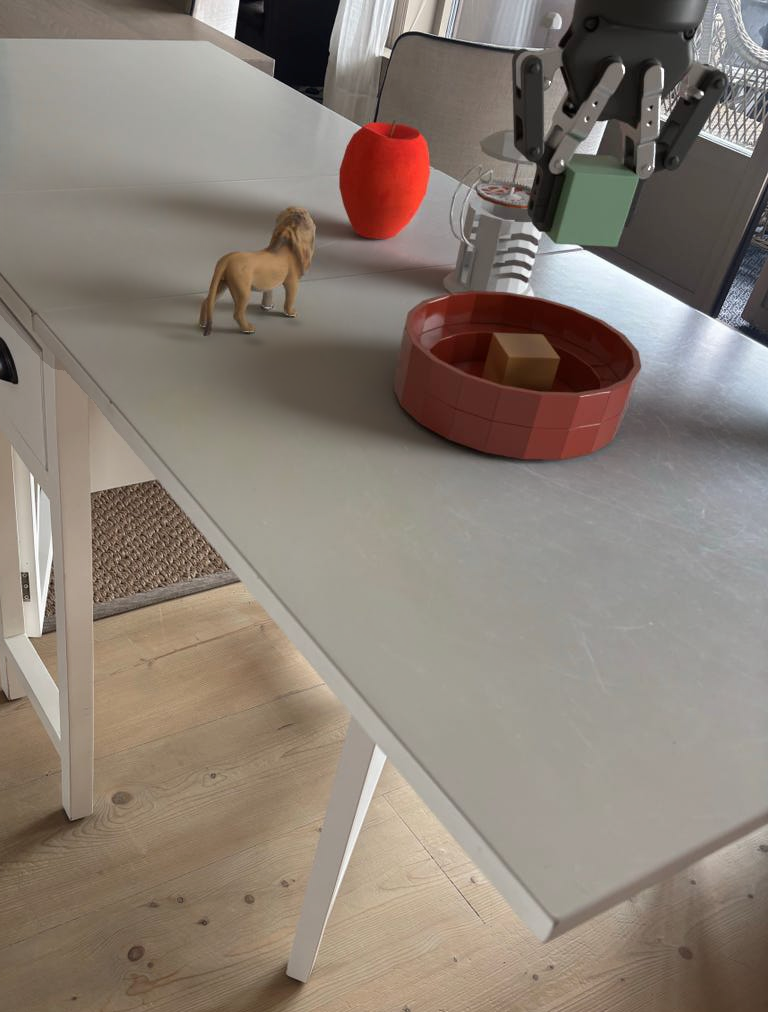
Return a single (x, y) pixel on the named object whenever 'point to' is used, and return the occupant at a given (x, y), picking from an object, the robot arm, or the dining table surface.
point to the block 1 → (521, 361)
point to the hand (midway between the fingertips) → (576, 228)
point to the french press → (498, 221)
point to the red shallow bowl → (508, 410)
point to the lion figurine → (264, 269)
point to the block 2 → (593, 201)
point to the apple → (384, 178)
